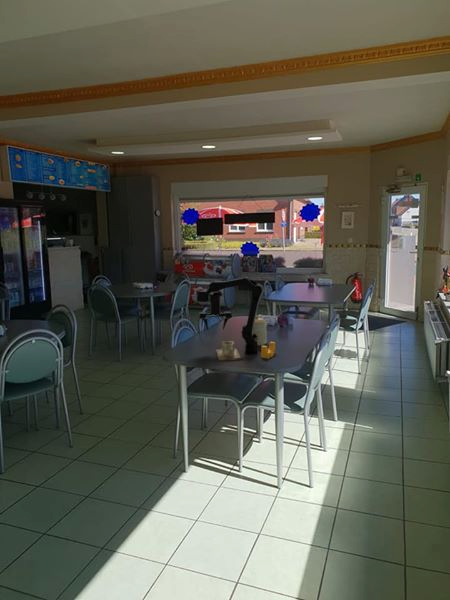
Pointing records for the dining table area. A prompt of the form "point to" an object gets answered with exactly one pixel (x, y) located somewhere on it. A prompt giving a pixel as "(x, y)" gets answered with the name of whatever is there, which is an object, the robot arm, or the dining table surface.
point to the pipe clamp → (268, 350)
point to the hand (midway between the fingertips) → (215, 329)
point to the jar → (260, 330)
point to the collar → (228, 348)
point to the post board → (228, 357)
